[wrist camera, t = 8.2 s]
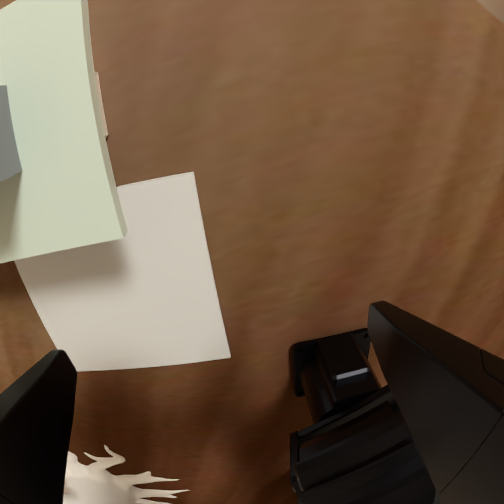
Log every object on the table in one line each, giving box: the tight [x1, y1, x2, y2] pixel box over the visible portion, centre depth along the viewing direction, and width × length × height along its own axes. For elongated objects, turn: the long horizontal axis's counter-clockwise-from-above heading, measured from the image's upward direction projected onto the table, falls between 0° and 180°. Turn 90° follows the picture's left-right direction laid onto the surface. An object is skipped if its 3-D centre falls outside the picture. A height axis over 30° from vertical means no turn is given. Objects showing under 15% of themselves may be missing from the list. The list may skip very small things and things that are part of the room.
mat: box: [14, 171, 231, 371], centre depth 21 cm, size 14×14×1 cm
